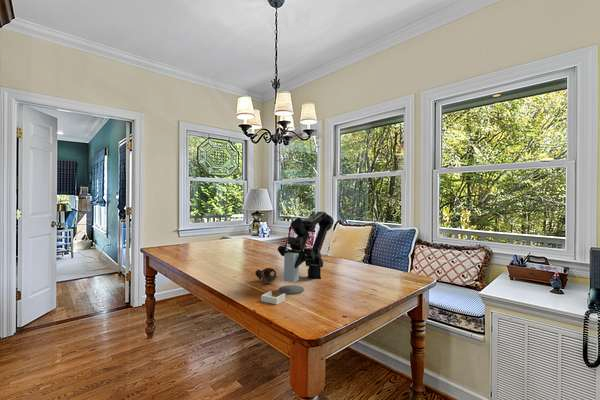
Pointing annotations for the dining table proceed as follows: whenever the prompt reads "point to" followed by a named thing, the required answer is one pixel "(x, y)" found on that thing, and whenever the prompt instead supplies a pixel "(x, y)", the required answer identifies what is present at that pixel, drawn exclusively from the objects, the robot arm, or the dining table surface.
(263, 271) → the pottery mug
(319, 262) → the robot arm
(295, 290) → the rubber mat
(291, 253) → the painted block
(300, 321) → the dining table surface
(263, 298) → the acrylic channel
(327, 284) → the dining table surface
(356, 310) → the dining table surface
